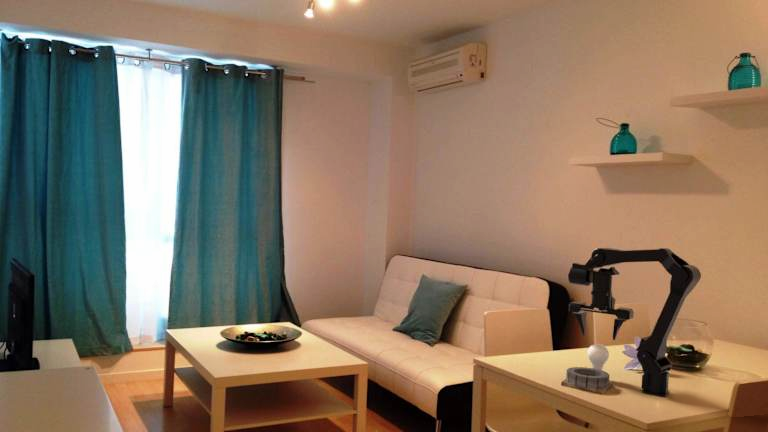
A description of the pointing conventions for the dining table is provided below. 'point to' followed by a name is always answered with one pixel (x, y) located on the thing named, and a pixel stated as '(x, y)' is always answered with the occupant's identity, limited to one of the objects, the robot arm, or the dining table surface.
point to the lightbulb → (598, 356)
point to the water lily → (632, 355)
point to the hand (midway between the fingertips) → (599, 337)
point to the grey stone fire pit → (587, 379)
